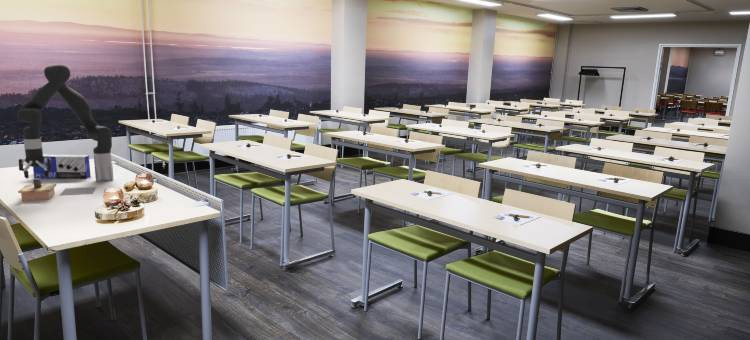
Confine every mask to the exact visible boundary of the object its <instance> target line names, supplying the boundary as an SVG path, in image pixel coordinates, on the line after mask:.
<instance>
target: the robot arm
mask: <svg viewBox="0 0 750 340" xmlns="http://www.w3.org/2000/svg"><path fill="white" fill-rule="evenodd" d="M43 74H44V76H45V79H46V80H47V81H48V82H47V83H46V84H44V85H43V86H42V87H40V88H39V89H38V90H37V91H36V92H35V93H34V94H33V96H32V97H31V99H30V100H29V101H27V102H26V103H25V104H23V106H21V107H19V109H18V110H17V114H16V115H17V119H18V121H20V122H22V123H30V124H29V126H26V127H23V132H22V133H23V144H24V145H23V147H24V155H25V158H21V157H20V158H19V159H18V170H19V171H20V172H21V171H22V172H23V174H24V175H23V176H24V178H25V179H26V180H27V179H29V178H30V176H29V175H30V174H29V169H30V168H33V167H35V166H36V167H39V166H41V165H42V166H41V167H42V168H43V169H44V170H45V178H47V177H48V176H49V171H48V170H49V169H51V168H52V163H51V158H50V157H49V158H44V157H43V154H44V153H43V144H42V143H43V142H42V139H41V132H40V131H41V126H42V120H43V114H42V112H41V111H42V110H44V109H45V107H46V106H47V105H48V103H49V102H50V101H51V99H52V98H53V96H54V95H55V94H56V93H58V94H59V95H60V96H61V97H62V98H63V100H64V102H66V104H67V106H68V107H69V108H70V110H71V111H72V112H73V114H74V115H75V116H76V118H77V119H78V120H79V122H80V123H81V124H82V127H83V128H84V130H85V132H87V135H88V136H89V138H90V139H91V140H92V141H95V142H96V143H97V144H96V147H93V163H94V174H95V182H99V183H100V182H101V183H102V182H104V183H105V182H112V181H113V180H114V170H113V169H114V167H113V163H112V150H111V149H112V145H113V144H112V142H113V137H112V131H111V129H110V128H109V127H107V126H101V125H99V124H98V123H97V122H96V121H95V119H94V118H93V115H92V109H91V105H90V104H89V103H88V101H87V100H86V98H85V97H84V96H83V95H82V94H80V93H79V92H78V91H76V90H75V89H73V88H71V87H70V86H69V85H68V84H67V82H68V80H69V79H70V78H71V71H70V68H69V67H68V66H67V65H65V64H56V65H50V66H49V65H48V66H46V67H45V68H44V70H43ZM44 160H45V161H46V162H47V163H48V167H47V166H46V165H45V164H44V163H43V162H44ZM24 163H26V165H25V167H24Z"/></svg>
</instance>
